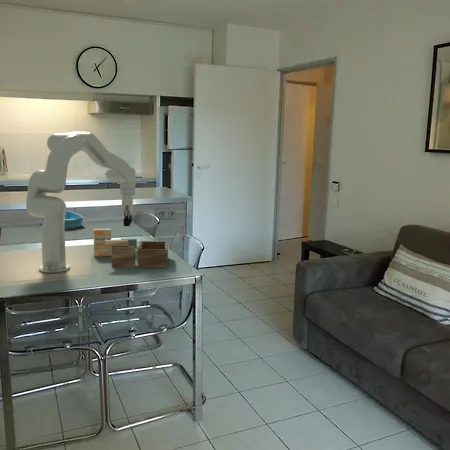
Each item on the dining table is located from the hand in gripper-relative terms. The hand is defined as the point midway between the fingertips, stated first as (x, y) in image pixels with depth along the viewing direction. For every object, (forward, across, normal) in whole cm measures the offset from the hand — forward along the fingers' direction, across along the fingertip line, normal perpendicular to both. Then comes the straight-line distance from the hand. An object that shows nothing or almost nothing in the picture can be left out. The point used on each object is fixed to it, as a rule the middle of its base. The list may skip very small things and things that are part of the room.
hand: (127, 224), depth 252 cm
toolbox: (+13, +30, +9) cm, 34 cm away
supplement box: (+13, +16, -10) cm, 23 cm away
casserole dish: (+12, -67, -48) cm, 83 cm away
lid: (+13, +1, +1) cm, 13 cm away
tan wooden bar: (+4, +37, -1) cm, 38 cm away
